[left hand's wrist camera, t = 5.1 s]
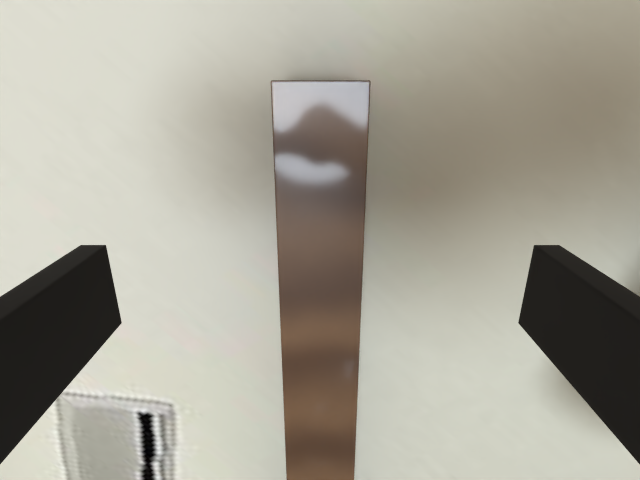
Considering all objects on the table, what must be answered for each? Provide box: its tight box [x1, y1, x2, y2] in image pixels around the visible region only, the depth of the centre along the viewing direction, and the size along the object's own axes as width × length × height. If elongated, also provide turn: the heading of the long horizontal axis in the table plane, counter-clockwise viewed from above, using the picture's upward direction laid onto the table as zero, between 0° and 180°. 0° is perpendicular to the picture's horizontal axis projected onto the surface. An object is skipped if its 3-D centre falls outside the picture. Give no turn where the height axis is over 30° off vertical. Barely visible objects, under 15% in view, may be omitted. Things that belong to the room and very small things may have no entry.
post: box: [271, 81, 370, 480], centre depth 35 cm, size 54×6×8 cm, turn 0°
